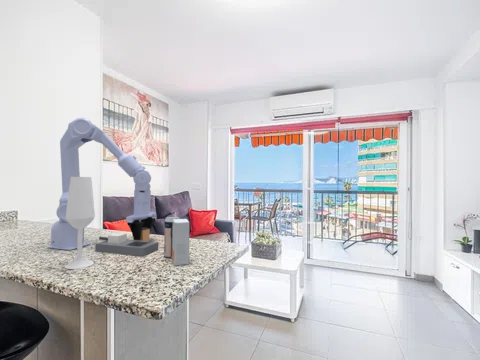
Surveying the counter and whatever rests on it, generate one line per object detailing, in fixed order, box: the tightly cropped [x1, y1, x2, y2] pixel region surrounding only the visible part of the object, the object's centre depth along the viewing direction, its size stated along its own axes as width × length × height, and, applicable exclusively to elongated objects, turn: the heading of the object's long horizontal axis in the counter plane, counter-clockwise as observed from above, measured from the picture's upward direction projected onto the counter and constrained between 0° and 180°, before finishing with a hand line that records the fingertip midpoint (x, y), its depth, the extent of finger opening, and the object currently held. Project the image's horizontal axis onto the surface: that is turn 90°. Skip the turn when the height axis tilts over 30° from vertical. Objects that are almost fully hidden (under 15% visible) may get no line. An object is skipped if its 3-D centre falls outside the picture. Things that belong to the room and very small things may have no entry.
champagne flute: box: [64, 176, 96, 270], centre depth 67 cm, size 7×7×24 cm
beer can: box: [163, 216, 180, 259], centre depth 75 cm, size 5×5×12 cm
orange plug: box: [132, 227, 151, 241], centre depth 91 cm, size 4×4×6 cm
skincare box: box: [171, 218, 190, 266], centre depth 70 cm, size 6×4×12 cm
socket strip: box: [94, 232, 159, 257], centre depth 81 cm, size 20×8×5 cm, turn 76°
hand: (141, 238), depth 91 cm, fingers open, 5 cm apart
